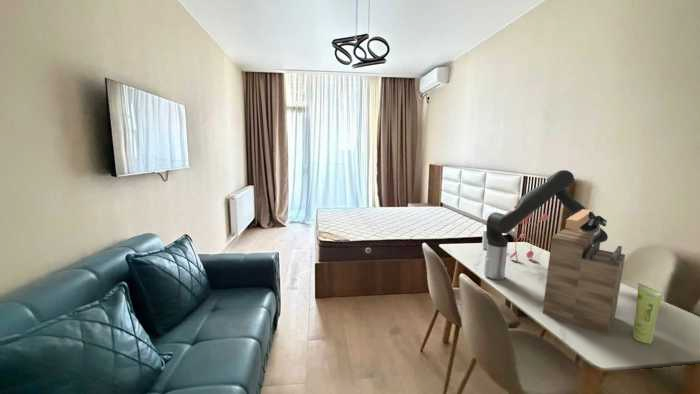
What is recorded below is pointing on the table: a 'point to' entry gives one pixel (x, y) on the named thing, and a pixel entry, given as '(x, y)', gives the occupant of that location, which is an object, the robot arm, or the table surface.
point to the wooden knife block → (582, 281)
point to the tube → (646, 313)
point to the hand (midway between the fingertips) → (583, 212)
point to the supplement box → (484, 239)
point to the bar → (578, 219)
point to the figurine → (530, 253)
